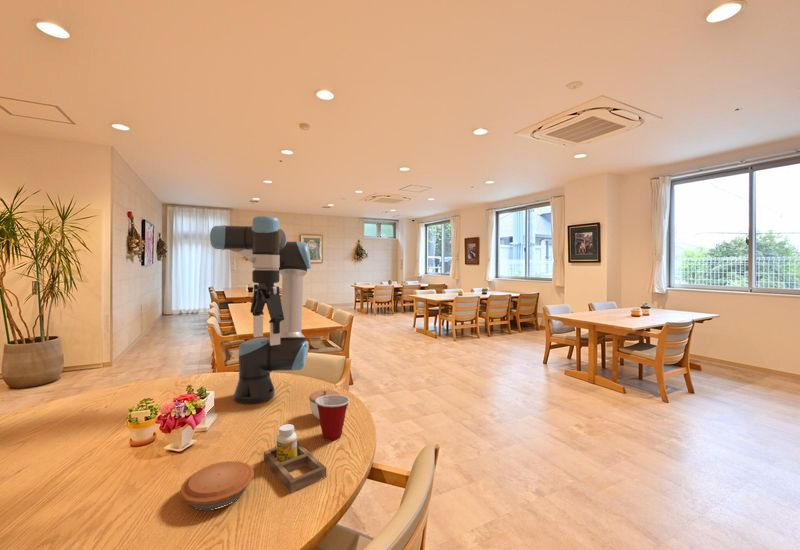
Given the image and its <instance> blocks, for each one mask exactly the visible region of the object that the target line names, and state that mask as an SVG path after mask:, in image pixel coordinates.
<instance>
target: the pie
mask: <svg viewBox="0 0 800 550" xmlns="http://www.w3.org/2000/svg"><path fill="white" fill-rule="evenodd" d="M254 477H255V471H254V469H253V467H252V465H250V464H248V463H246V462H242V461H239V460H238V461H233V460H232V461H220V462H216V463H212V464H209V465H207V466H205V467H203V468H201V469H199V470H198V471H196V472H194V473H192V474H191V475H190V476H188V477H187V478H186V479H185V480H184V482H183V483H182V484H181V487H180V490H179V491H180V494H181V496H182V497H183V499H185V500H186V502H188V503H189V504H190V505H191V506H192V507H193V508H194V507H195V508H194V509H196V508H197V509H196V510H199V509H201V510H200V511H203V510H210V511H212V510H211V509H215V508H218V507H221V506H224V505H227V504H229V503H231V502H233V501H235V500H236V499H237V500H239V498H240V497H242V495H243V494H244V492H245V491H246V488H247V487H248V486H249V485H250V483H251V482H252V480H253V479H254ZM237 500H236V501H237ZM236 501H235V502H236ZM233 503H234V502H233Z"/></svg>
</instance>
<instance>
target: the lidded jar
mask: <svg viewBox="0 0 800 550" xmlns="http://www.w3.org/2000/svg"><path fill="white" fill-rule="evenodd" d="M326 395H341V393H340V392H339V391H336V390H334V389H333V390H332V389H321V390H317V391H314V392H312V393H310V395H309V397H308V399H309V408H310V412H311V413H312V415H313V416H314V417H315V419H317V420H319V421H320V417H319V412H318V407H317V404H316V399H317V398H318V397H321V396H326Z"/></svg>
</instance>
